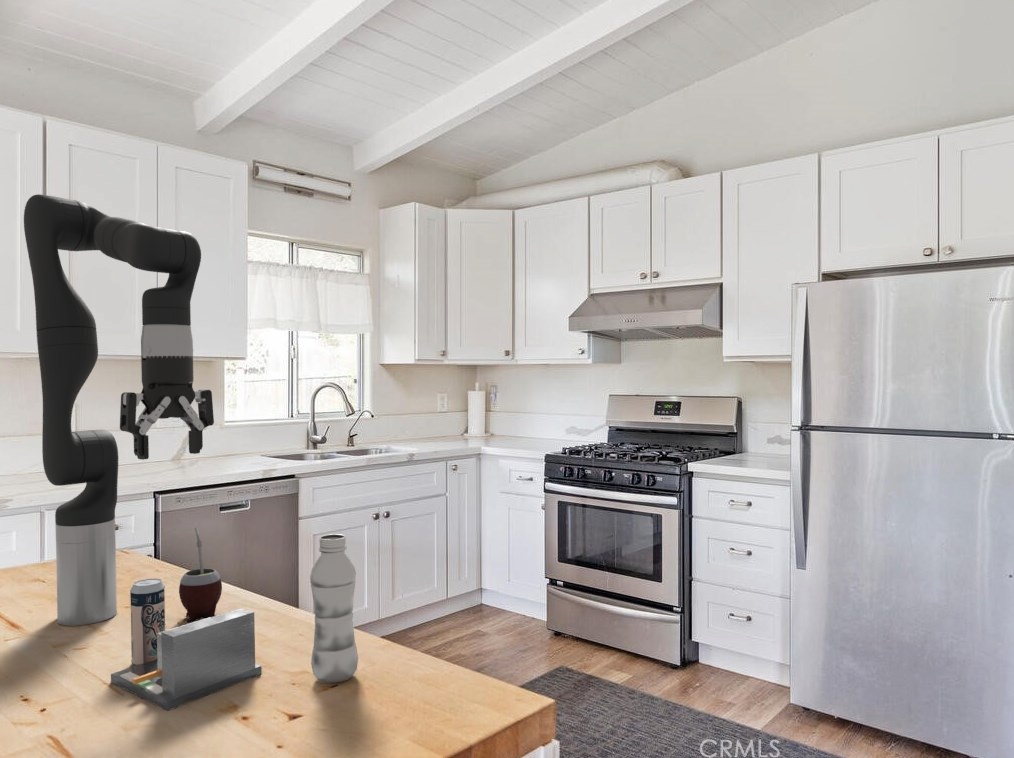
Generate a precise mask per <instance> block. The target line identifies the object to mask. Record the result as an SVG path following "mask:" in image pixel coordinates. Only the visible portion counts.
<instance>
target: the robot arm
mask: <svg viewBox="0 0 1014 758" xmlns="http://www.w3.org/2000/svg"><path fill="white" fill-rule="evenodd" d="M24 206H25V207H24V210H23V211H24V212H23V230H24V236H25V243H26V249H27V253H28V259H29V266H30V272H31V276H32V285H33V292H34V293H33V294H34V296H33V297H34V307H35V329H36V331H35V332H36V341H37V342H36V343H37V344H36V345H37V353H38V361H39V371H40V381H41V382H40V383H41V392H42V393H41V395H42V442H41V443H42V463H43V470H44V474H45V477H46V478H47V481H49V483H51V484H52V485H53V486H56V487H57V486H63V487H64V486H71V485H77V484H78V485H79V484H85V487H84V489H83V490H82V491H81V492H80V493H79V494H78V495H77V496H75V497H73V498H72V499H70V500H69V501H66V502H64V503H63V504H60V505H59V506H58V507H57V508H56V509H55V514H54V519H55V520H54V521H55V556H56V559H55V561H56V564H55V565H56V596H57V597H56V604H57V605H56V606H57V607H56V610H57V612H56V613H57V615H56V616H57V623H58V624H60V625H61V626H83V625H91V624H95V623H99V622H102V621H106V620H109V619H111V618H113V617H115V616H116V615H117V613H118V607H117V605H118V601H117V599H118V598H117V594H118V593H117V589H118V587H117V552H116V551H117V546H116V545H117V544H116V541H117V540H116V506H117V502H118V483H119V482H118V479H119V477H118V476H119V449H118V445H117V441H116V439H115V437H114V435H113V434H112V432H110V431H109V430H106V429H92V430H91V429H89V430H77V431H76V430H75V431H72V414H73V410H74V405H75V401H76V400H77V397H78V395H79V393H80V391H81V389H83V386H84V385H85V383H86V382H87V380H88V378H89V377H90V375H91V373H92V371H93V369H95V366H96V364H97V361H98V357H99V345H98V335H97V334H98V332H97V324H96V320H95V317H94V315H93V313H92V311H91V310H90V308H89V306H88V305H87V303H86V302H85V301H84V300H83V299H82V297H81V296H80V294H79V293H78V292H77V291H76V289H75V287H74V286H73V284H71V282H70V280H69V279H68V277H67V276H66V273H65V271H64V269H63V266H62V262H61V258H60V254H59V253H60V252H59V250H60V251H69V252H84V251H85V252H87V251H88V252H89V251H91V252H92V251H100V252H101V253H102V254H103V255H105V256H107V257H108V258H111V259H113V260H116V261H120V262H124V263H127V265H128V264H129V265H130V266H131V267H132V268H134V269H137V270H141V271H145V272H152V273H163V274H168V278H167V281H166V283H165V285H164V286H159V287H158V286H157V287H151V288H149V289H148V288H147V289H146V290H144V292H143V293H142V296H141V314H142V315H141V316H142V319H141V322H142V330H141V336H140V337H141V338H140V355H141V356H140V358H141V359H140V360H141V361H140V363H141V384H142V389H141V392H139V393H138V392H130V391H126V392H125V391H124V392H122V393H121V394H120V412H119V430H120V431H122V432H126V433H129V434H132V436H133V454H134V456H136V458H137V459H138V460H143V461H144V460H149V457H150V455H149V453H150V452H149V451H150V450H149V449H150V448H149V447H150V446H149V435H148V434H147V433H148V431H149V430H150V429H151V428H152V426H153V425H154V424H155V423H156V422H157V421H158V419H160V420H161V419H169V418H174V419H175V418H176V419H177V418H179V419H180V420H181V421H183V422H184V424H186V425H187V426H188V428H189V429H190V430H188V452H189V453H190V454H192V455H193V454H194V455H197V454H200V453H201V450H203V446H204V445H203V431H204V429H205V428H208V427H209V426H213V425H214V423H215V420H214V419H215V418H214V417H215V416H214V406H213V405H214V404H213V394H212V391H211V389H198V390H197V391H196V390H194V388H193V383H194V345H193V344H194V342H193V341H194V340H193V334H192V322H191V321H192V320H191V317H192V316H191V315H192V314H191V300H192V296H193V292H194V289H195V284H196V279H197V276H198V273H199V270H200V267H201V261H202V249H201V246H200V244H199V241H198V240H197V238H196V237H195V236H194V235H193V234H192V233H191V232H189V231H183V230H177V229H171V228H165V227H160V226H159V227H158V226H154V225H153V226H152V225H148V224H147V223H143V222H142V221H141V222H140V221H136V220H133V219H129V218H128V219H127V218H123V217H118V216H115V217H114V216H110V215H108V214H106V213H103V212H102V211H101V210H99V209H97V208H96V207H94V206H91V205H89V204H88V203H85V202H84V201H80V200H75V199H70V198H66V197H65V198H64V197H57V196H56V195H55V196H54V195H47V194H34V195H32V196H31V197H29V198H28V200H27V201H26V203H25V205H24ZM194 400H195V401H194ZM140 402H141V403H142V404H143V406H144V409H143V410H142V411H141V412H140V414H139V415H138V418H137V407H138V406H140V405H139V404H140ZM193 402H196V403H197V412H198V413H197V412H196V410H195V409H194V408H193V407H192V406H191V405H192V404H193ZM136 418H137V419H138V420H137V419H136Z"/></svg>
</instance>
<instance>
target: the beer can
mask: <svg viewBox="0 0 1014 758" xmlns="http://www.w3.org/2000/svg"><path fill="white" fill-rule="evenodd" d="M165 589H166V585H165V584H164V583H163V581H162V579H160V578H145V579H141V580H140V579H139V580H136V581H134V582H133V584H132V586H131V588H130V589H129V594H130V595H129V596H130V597H129V598H130V634H131V635H130V637H131V638H130V643H131V646H130V647H131V663H132V664H134V665H135V666H137V665H140V664H143V663H146V662H149V661H152V660H155V659H157V633H159V632H163V631H166V605H165V604H166V603H165V599H166V598H165V596H166V595H165V593H166V592H165Z"/></svg>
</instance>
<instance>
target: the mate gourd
mask: <svg viewBox="0 0 1014 758" xmlns="http://www.w3.org/2000/svg"><path fill="white" fill-rule="evenodd" d="M194 531H195V536H196V539H197V540H196V546H197V550H198V560H199V568H196V569H192V570H188V571H186V572H185V573H184V574H183V575H182V577H181V579H180V580H179V582H180V583H179V587H178V594H179V599H180V602H181V604H182V606H183V608H184V609H185V610H186V613H185V615H186V617H188V619H186V623H187V624H189V623H193V622H196V621H199V620H201V619H206V618H209V617H214V616H217V615H216V614H215V613H216V609H217V604H218V603H219V601H220V599H221V595H222V591H223V585H222V579H221V575H220V574H219V572H218V571H217V570H216V569H214V568H208V567H207V568H204V564H203V563H204V561H203V551H202V550H203V549H202V547H203V543H202V542H203V541H202V540H201V536H200V531H199V527H197V526H195V527H194Z"/></svg>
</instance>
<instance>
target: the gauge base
mask: <svg viewBox="0 0 1014 758" xmlns="http://www.w3.org/2000/svg"><path fill="white" fill-rule="evenodd" d="M203 619H204V620H203ZM203 619H200V620H201V621H199V620H196V621H197V622H196V621H193V622H194V623H193V622H191V624H189V623H187V625H186V624H183V625H184V626H183V625H180V626H181V627H179V626H177V628H176V627H173V628H174V629H173V628H170V629H171V630H169V629H166V630H167V631H166V630H165V631H164V632H161V643H162V678H160V677H158V676H157V677H154V678H152V679H149V680H146V681H143V682H140V683H137V684H133V678H136V677H139V676H142V675H145V674H148V673H151V672H154V671H157V670H158V662H157V659H155V660H152V661H149V662H146V663H143V664H140V665H134V666H131V667H127V668H124V669H122V670H120V671H116V672H113V673H111V674H110V683H112V684H113V685H115V686H117V687H120V688H121V689H123V690H125V691H127V692H129V693H131V694H133V695H135V696H136V697H139V698H141V699H143V700H145V701H147V702H148V703H150V704H154V706H155V705H156V706H157V707H159V708H161V709H163V710H166V711H167V712H168V711H170V710H173V709H176V708H178V707H180V706H183V705H185V704H187V703H190V702H193V701H195V700H199V699H201V698H204V697H206V696H208V695H211V694H214V693H217V692H219V691H222V690H223V689H227V688H230V687H232V686H234V685H237V684H239V683H242V682H244V681H247V680H250V679H252V678H256V677H257V676H261V675H262V671H263V670H262V665H261V664H258V663H256V641H255V640H256V639H255V638H256V635H255V634H256V633H255V631H256V630H255V629H256V628H255V625H256V623H255V611H252V610H250V609H249V610H248V609H246V608H243V607H241V608H238V609H235V610H232V611H228V612H224V613H222V614H218V615H216V616H214V617H211V618H208V619H205V618H203Z"/></svg>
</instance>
